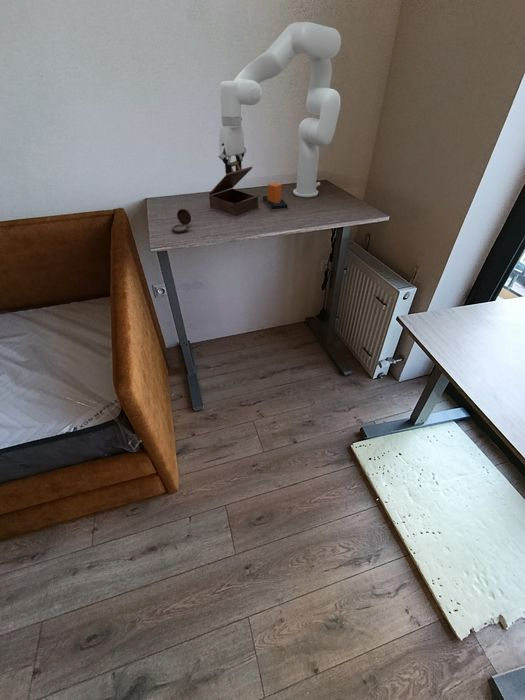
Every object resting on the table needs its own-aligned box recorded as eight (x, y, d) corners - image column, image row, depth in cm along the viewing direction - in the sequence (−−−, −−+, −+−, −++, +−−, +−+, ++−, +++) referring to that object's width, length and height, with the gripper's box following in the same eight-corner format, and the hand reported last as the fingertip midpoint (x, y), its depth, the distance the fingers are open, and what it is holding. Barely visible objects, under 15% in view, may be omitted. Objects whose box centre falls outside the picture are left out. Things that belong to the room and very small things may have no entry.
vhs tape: (271, 211, 151) (271, 206, 149) (262, 200, 161) (262, 196, 160) (287, 209, 152) (287, 205, 151) (277, 199, 162) (277, 194, 161)
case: (258, 209, 152) (257, 196, 148) (235, 218, 144) (234, 204, 141) (233, 200, 160) (232, 188, 157) (210, 208, 152) (209, 195, 149)
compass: (169, 232, 133) (165, 213, 128) (180, 224, 139) (177, 206, 134) (186, 235, 131) (183, 216, 126) (197, 228, 136) (194, 209, 131)
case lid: (252, 167, 143) (247, 156, 142) (228, 174, 135) (222, 162, 134) (232, 187, 156) (227, 177, 155) (209, 195, 148) (203, 184, 147)
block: (273, 198, 157) (274, 182, 153) (281, 200, 155) (281, 184, 150) (267, 200, 155) (267, 184, 150) (274, 202, 153) (275, 186, 148)
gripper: (240, 118, 136) (241, 167, 148) (208, 123, 127) (212, 175, 139) (253, 120, 132) (253, 170, 145) (221, 125, 123) (224, 179, 135)
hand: (233, 172), depth 142 cm, fingers closed on case lid, 5 cm apart
